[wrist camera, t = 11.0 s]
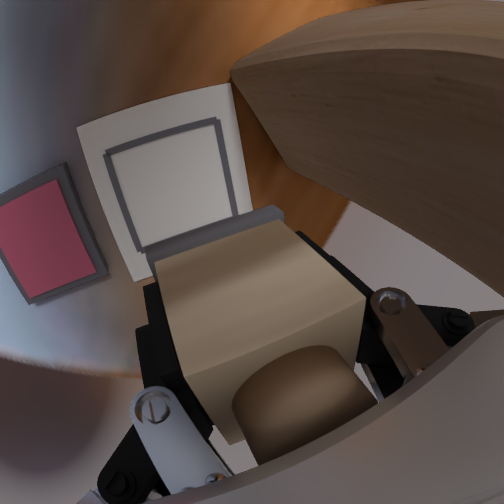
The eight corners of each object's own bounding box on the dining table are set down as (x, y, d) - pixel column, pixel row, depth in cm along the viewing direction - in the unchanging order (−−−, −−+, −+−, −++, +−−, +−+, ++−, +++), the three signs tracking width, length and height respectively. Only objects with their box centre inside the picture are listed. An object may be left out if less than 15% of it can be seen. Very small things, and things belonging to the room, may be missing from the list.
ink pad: (-18, 204, 15) (-25, 211, 14) (65, 161, 17) (61, 165, 16) (31, 297, 20) (28, 307, 19) (108, 267, 22) (108, 276, 21)
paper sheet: (76, 127, 16) (75, 127, 16) (229, 82, 19) (230, 82, 18) (134, 280, 23) (134, 282, 23) (256, 237, 26) (258, 238, 26)
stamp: (144, 247, 10) (197, 453, 4) (273, 204, 11) (425, 336, 5) (184, 339, 12) (245, 494, 7) (284, 300, 14) (382, 425, 8)
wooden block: (320, 16, 18) (577, 14, 2) (367, 113, 24) (580, 188, 8) (219, 70, 18) (567, 67, 2) (287, 174, 24) (520, 323, 8)
